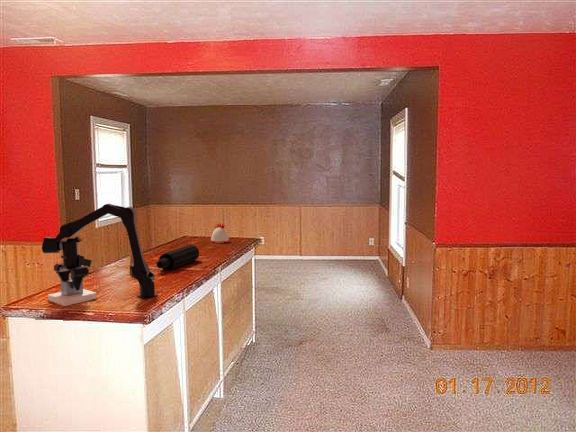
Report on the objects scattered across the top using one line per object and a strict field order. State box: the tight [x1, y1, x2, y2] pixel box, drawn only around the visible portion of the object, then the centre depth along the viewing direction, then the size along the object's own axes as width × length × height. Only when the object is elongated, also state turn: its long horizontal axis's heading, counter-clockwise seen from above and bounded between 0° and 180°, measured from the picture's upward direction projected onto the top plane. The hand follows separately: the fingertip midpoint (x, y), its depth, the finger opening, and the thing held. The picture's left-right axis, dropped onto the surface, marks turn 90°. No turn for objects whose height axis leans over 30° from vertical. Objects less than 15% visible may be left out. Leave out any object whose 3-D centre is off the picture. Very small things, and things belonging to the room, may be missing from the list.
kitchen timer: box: [210, 222, 230, 242], centre depth 350 cm, size 14×14×15 cm
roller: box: [155, 244, 200, 272], centre depth 260 cm, size 38×10×10 cm, turn 164°
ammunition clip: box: [129, 251, 134, 276], centre depth 243 cm, size 11×2×12 cm, turn 169°
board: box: [47, 288, 98, 307], centre depth 192 cm, size 14×14×2 cm
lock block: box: [60, 278, 84, 296], centre depth 192 cm, size 5×7×6 cm
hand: (72, 288), depth 192 cm, fingers open, 9 cm apart
